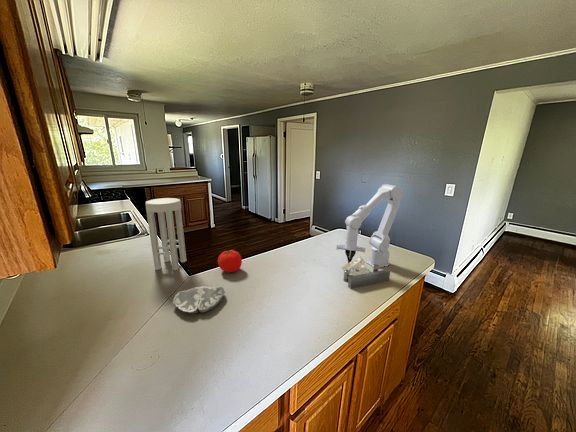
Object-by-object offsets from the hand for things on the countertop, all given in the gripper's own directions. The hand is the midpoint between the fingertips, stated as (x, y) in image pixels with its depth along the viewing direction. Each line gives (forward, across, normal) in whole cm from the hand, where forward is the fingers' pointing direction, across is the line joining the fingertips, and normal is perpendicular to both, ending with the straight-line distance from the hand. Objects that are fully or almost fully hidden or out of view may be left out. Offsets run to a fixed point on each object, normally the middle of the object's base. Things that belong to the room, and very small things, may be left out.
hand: (349, 262), depth 126 cm
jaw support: (+3, -4, +6) cm, 8 cm away
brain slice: (+3, +58, +48) cm, 75 cm away
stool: (+3, +92, +22) cm, 95 cm away
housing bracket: (+3, -8, +11) cm, 14 cm away
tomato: (+3, +59, +20) cm, 62 cm away
